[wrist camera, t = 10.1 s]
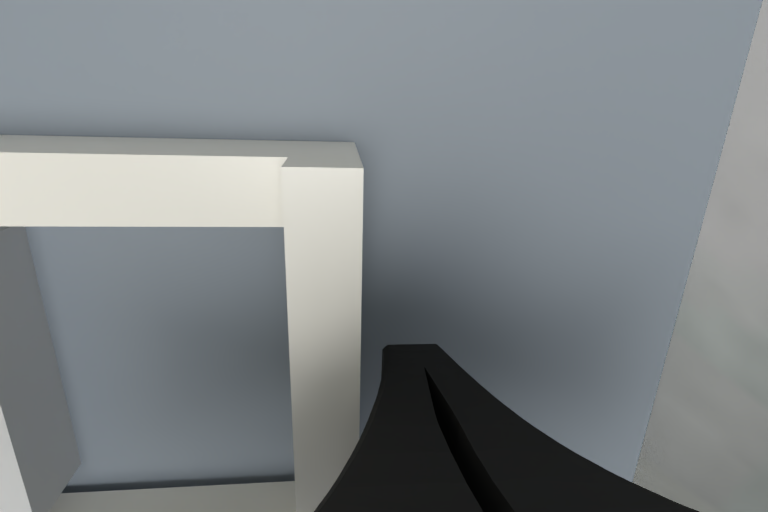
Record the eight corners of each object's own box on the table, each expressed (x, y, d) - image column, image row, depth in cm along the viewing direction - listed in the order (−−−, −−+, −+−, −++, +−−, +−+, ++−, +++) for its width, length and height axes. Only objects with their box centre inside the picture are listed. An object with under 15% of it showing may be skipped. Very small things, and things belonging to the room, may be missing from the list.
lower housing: (351, 509, 14) (355, 641, 10) (-9, 531, 13) (-127, 684, 9) (354, 141, 10) (363, 168, 7) (-144, 132, 9) (-410, 156, 6)
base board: (598, 475, 17) (663, 572, 14) (-139, 516, 14) (-283, 647, 11) (719, -34, 11) (878, -84, 8) (-426, -108, 9) (-883, -225, 6)
